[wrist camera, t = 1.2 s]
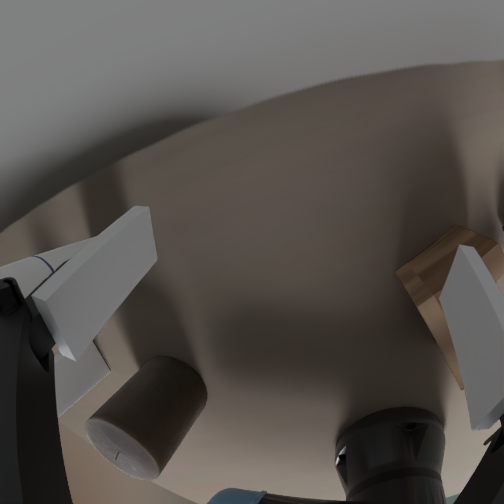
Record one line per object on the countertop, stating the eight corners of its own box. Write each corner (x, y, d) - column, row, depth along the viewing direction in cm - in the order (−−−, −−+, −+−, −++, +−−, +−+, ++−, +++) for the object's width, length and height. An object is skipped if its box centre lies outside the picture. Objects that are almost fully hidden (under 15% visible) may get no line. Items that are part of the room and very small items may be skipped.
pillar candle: (193, 353, 36) (125, 432, 22) (217, 414, 38) (169, 496, 23) (133, 356, 39) (62, 417, 25) (159, 411, 40) (104, 477, 26)
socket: (492, 300, 26) (531, 336, 17) (436, 342, 29) (461, 390, 20) (456, 224, 26) (498, 242, 17) (394, 271, 28) (417, 307, 20)
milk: (71, 344, 42) (-29, 411, 21) (91, 336, 40) (-20, 413, 20) (90, 376, 43) (-1, 451, 22) (112, 372, 41) (12, 458, 20)
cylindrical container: (109, 220, 35) (-84, 276, 11) (150, 256, 34) (-46, 354, 11) (89, 264, 37) (-74, 336, 14) (127, 299, 37) (-35, 404, 13)
